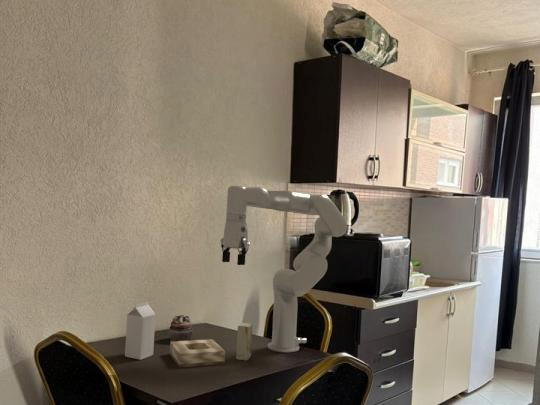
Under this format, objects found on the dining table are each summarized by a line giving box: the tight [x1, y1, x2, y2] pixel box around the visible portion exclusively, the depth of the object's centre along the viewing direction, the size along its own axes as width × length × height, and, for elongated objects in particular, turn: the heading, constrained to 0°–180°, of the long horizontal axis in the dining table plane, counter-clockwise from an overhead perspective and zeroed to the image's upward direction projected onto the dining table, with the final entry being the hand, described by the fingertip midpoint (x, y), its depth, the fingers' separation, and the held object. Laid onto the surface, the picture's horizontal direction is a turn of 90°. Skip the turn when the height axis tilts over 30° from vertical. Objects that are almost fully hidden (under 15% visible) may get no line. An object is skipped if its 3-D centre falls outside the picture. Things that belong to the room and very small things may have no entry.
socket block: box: [169, 338, 226, 368], centre depth 175 cm, size 16×16×4 cm
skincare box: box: [235, 322, 253, 361], centre depth 179 cm, size 6×4×12 cm
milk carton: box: [124, 301, 156, 361], centre depth 175 cm, size 7×7×19 cm
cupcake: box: [168, 314, 194, 342], centre depth 198 cm, size 10×10×10 cm
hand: (233, 263), depth 184 cm, fingers open, 9 cm apart
